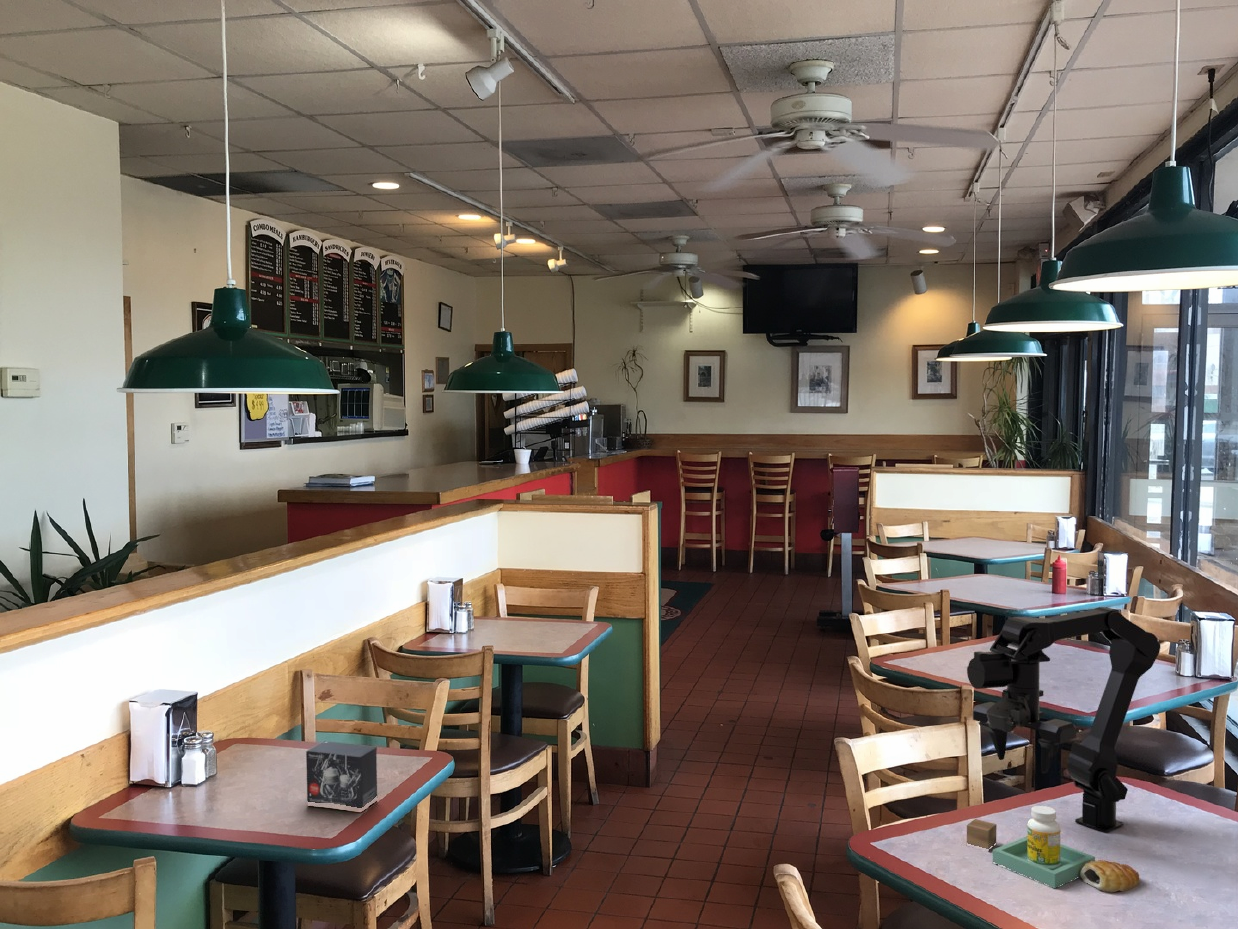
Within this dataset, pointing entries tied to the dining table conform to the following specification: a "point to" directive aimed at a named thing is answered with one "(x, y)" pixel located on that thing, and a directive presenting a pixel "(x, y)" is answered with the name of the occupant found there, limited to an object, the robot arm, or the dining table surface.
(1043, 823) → the supplement bottle
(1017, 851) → the tray
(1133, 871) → the pastry
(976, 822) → the walnut block
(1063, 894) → the dining table surface
